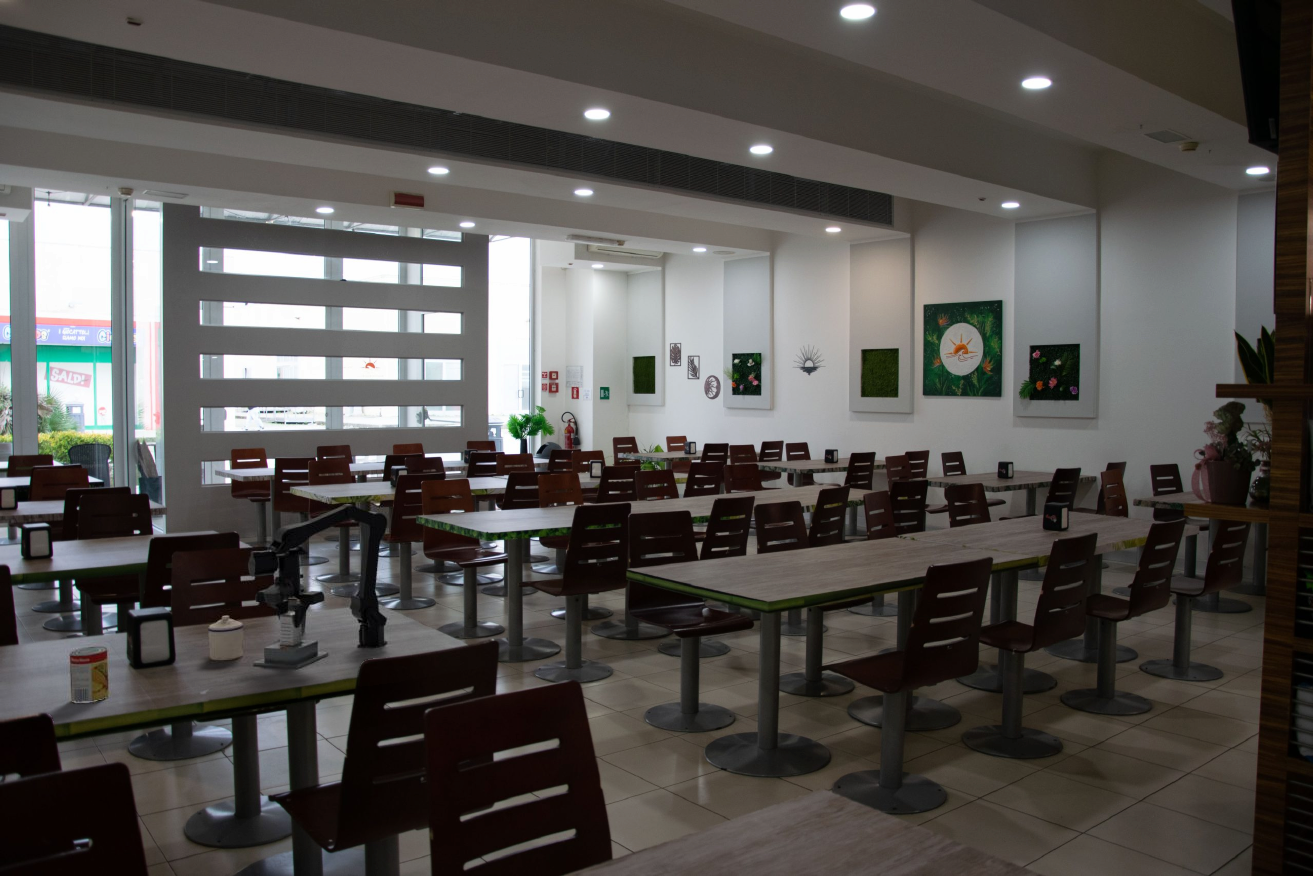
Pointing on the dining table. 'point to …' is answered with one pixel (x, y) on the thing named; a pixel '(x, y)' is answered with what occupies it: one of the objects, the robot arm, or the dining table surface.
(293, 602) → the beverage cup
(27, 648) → the dining table surface
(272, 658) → the base
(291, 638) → the column
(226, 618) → the teacup with lid
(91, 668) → the canned food
